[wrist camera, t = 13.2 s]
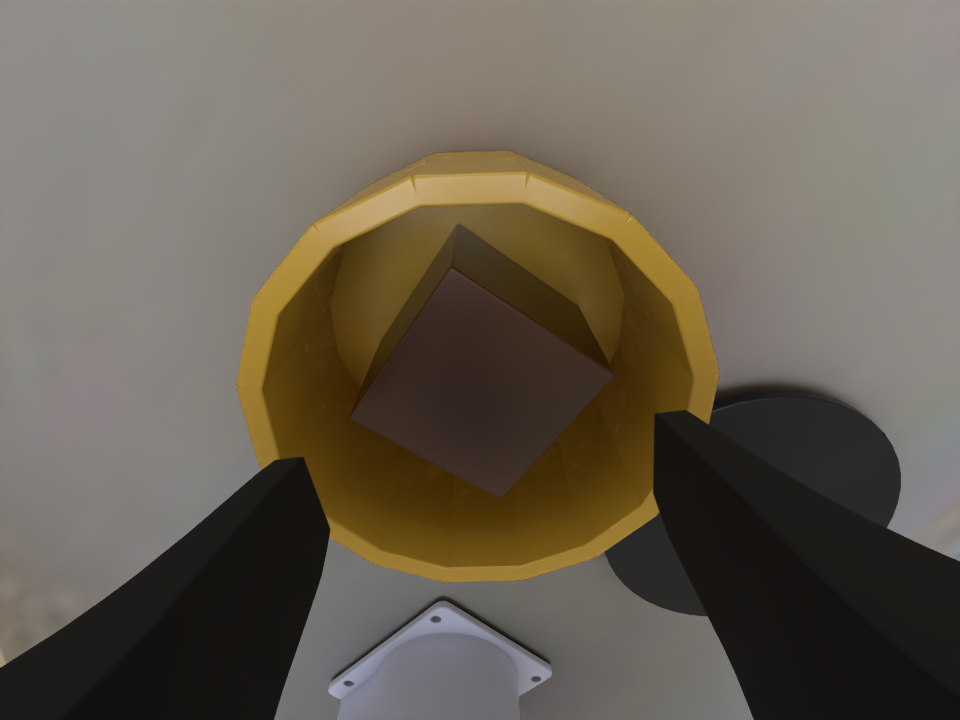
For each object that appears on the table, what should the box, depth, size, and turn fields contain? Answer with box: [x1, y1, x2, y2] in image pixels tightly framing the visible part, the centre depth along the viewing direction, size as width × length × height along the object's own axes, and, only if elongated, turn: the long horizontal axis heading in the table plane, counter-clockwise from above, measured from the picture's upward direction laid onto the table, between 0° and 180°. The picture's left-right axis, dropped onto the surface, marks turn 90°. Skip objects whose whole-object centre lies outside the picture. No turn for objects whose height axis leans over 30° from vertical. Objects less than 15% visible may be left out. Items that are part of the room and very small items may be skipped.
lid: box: [605, 391, 901, 616], centre depth 19 cm, size 12×12×5 cm
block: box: [349, 224, 615, 499], centre depth 15 cm, size 5×5×5 cm
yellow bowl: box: [236, 151, 719, 582], centre depth 15 cm, size 11×11×6 cm
